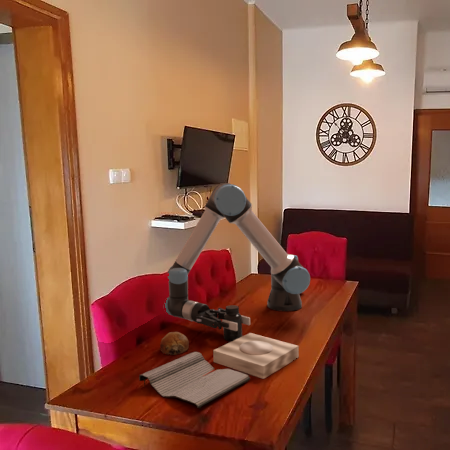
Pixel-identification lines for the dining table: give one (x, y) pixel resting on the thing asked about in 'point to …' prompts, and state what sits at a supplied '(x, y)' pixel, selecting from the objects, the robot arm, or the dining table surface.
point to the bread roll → (174, 343)
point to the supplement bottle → (233, 317)
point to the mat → (193, 379)
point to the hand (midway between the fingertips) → (243, 324)
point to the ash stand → (256, 355)
